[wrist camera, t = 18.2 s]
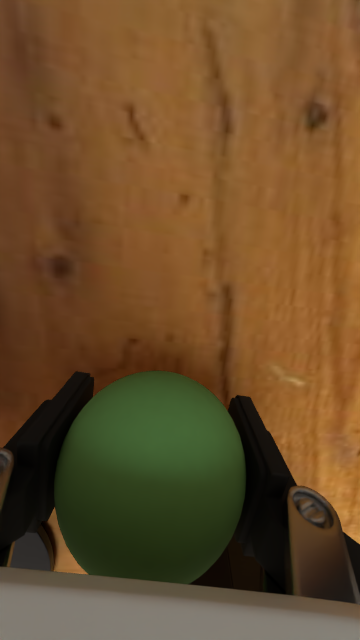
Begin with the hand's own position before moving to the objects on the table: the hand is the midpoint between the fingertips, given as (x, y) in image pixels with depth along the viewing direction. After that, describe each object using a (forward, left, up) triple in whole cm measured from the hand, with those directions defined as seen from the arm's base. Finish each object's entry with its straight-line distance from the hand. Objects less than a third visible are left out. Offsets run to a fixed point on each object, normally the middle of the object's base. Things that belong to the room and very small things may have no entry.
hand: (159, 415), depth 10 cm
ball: (0, 0, +2) cm, 2 cm away
